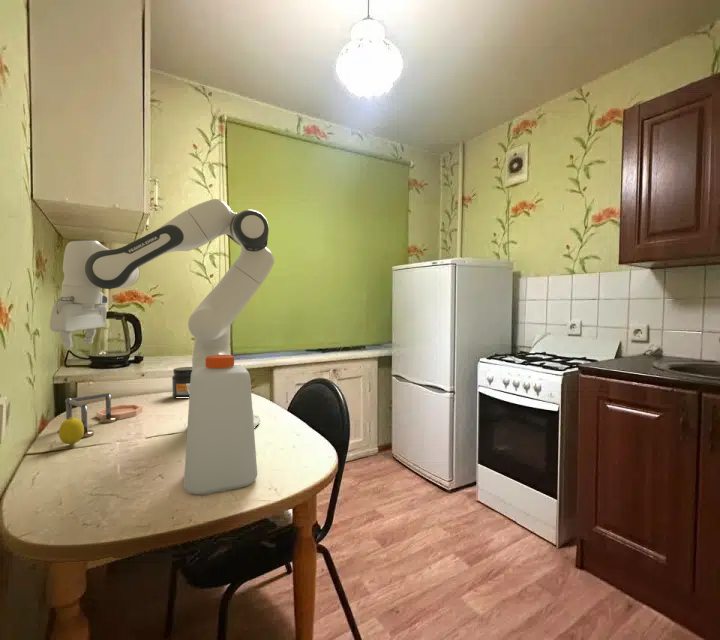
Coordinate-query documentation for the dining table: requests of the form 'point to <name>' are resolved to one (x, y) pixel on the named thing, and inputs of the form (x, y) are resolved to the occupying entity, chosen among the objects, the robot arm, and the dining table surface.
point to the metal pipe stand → (84, 411)
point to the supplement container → (181, 381)
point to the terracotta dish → (121, 411)
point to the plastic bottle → (219, 428)
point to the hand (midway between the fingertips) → (78, 345)
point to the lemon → (71, 431)
